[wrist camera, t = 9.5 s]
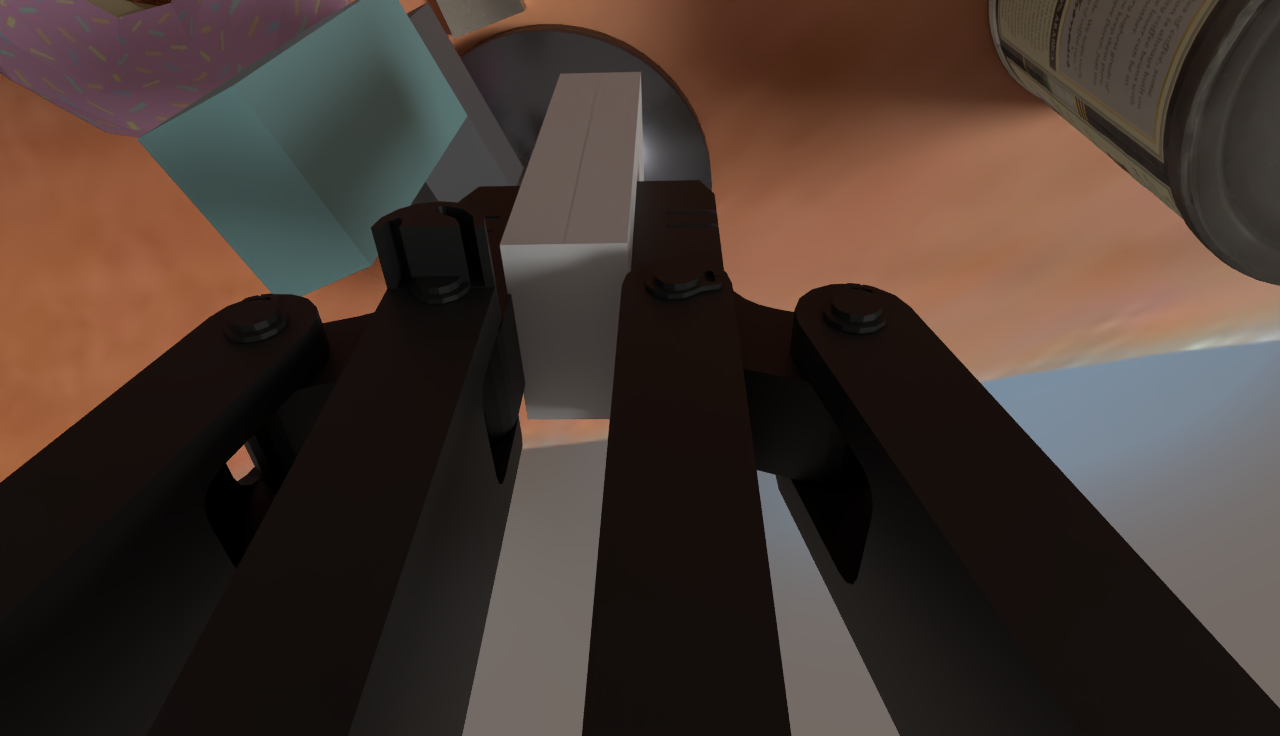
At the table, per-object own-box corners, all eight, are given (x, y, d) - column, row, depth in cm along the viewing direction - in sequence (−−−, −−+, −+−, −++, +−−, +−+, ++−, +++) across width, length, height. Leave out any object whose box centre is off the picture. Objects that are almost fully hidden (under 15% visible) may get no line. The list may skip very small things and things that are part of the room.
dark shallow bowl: (496, 334, 38) (470, 411, 34) (306, 1, 29) (234, 43, 24) (744, 263, 35) (754, 337, 31) (620, -134, 26) (608, -116, 21)
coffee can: (1363, -216, 24) (1959, -218, 13) (1213, 109, 30) (1526, 296, 19) (1034, -216, 24) (1337, -219, 13) (953, 105, 31) (1112, 287, 19)
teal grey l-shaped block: (665, 292, 29) (660, 521, 20) (510, 350, 31) (441, 582, 22) (478, -72, 22) (335, 28, 13) (291, 34, 24) (52, 185, 15)
